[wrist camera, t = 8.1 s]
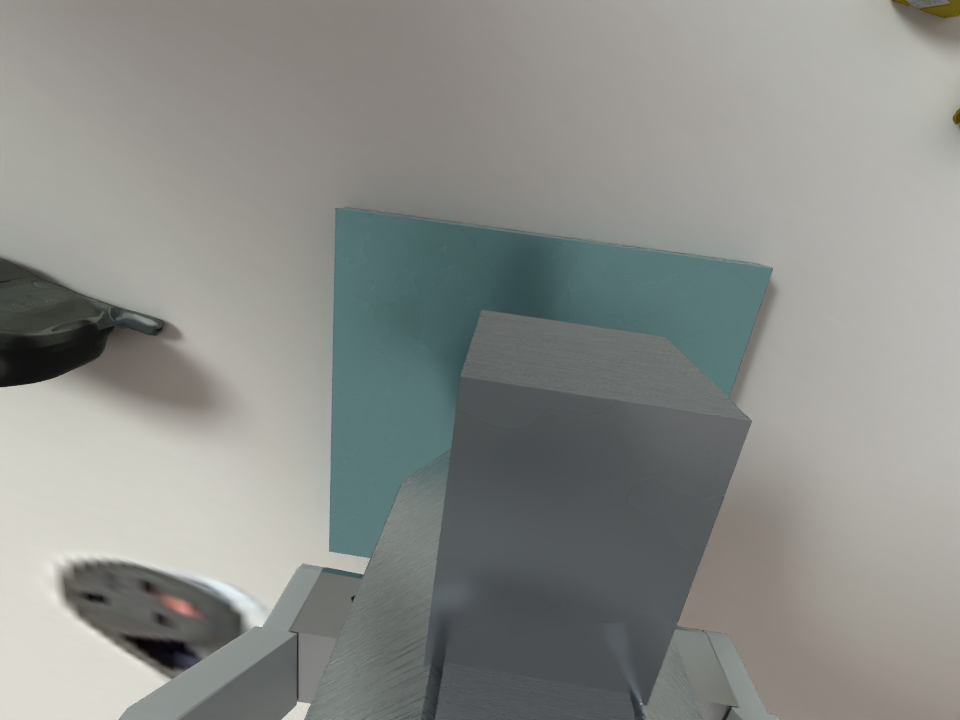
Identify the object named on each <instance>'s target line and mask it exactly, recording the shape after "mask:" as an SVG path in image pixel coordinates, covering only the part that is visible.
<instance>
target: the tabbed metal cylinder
mask: <svg viewBox="0 0 960 720" xmlns="http://www.w3.org/2000/svg"><path fill="white" fill-rule="evenodd" d="M751 422H752V420H751V419H749V418H748V417H747V416H746V415H745V414H744V413H743V412H742V411H741V410H740V409H739V408H738V407H737V406H736V405H735V404H734V403H733V402H732V401H731V400H730V399H729V398H728V397H727V396H726V395H725V394H724V393H723V392H722V391H721V390H720V389H719V388H718V387H716V386H715V385H714V384H713V383H712V382H711V381H710V380H709V379H708V378H707V377H706V376H705V375H704V374H703V373H702V372H701V371H700V370H699V369H698V368H697V367H696V366H695V365H694V364H693V363H692V362H691V361H690V360H689V359H688V358H687V357H686V356H685V355H683V354H682V353H681V352H680V351H679V350H678V349H677V348H676V347H675V346H674V345H673V344H672V343H671V342H670V341H669V340H668V339H667V338H666V337H663V336H656V335H649V334H643V333H636V332H629V331H622V330H616V329H609V328H602V327H595V326H589V325H582V324H575V323H568V322H562V321H555V320H548V319H542V318H535V317H528V316H521V315H515V314H508V313H501V312H494V311H488V310H482V311H481V314H480V317H479V320H478V323H477V326H476V329H475V332H474V335H473V338H472V341H471V345H470V348H469V351H468V354H467V357H466V360H465V363H464V366H463V369H462V372H461V375H460V382H459V390H458V398H457V405H456V413H455V421H454V429H453V437H452V445H451V449H449V450H448V451H446V452H445V453H443V454H441V455H440V456H438V457H437V458H435V459H434V460H432V461H431V462H429V463H428V464H426V465H425V466H423V467H421V468H420V469H418V470H417V471H415V472H414V473H412V474H411V475H409V476H408V477H406V478H405V479H404V480H403V482H402V484H401V485H400V487H399V489H398V492H397V494H396V497H395V499H394V502H393V504H392V507H391V509H390V511H389V514H388V516H387V519H386V521H385V524H384V526H383V529H382V531H381V533H380V536H379V538H378V541H377V543H376V546H375V548H374V551H373V553H372V555H371V558H370V560H369V563H368V565H367V568H366V570H365V573H364V575H363V577H362V580H361V582H360V585H359V587H358V590H357V592H356V595H355V597H354V599H353V602H352V604H351V607H350V609H349V612H348V614H347V617H346V619H345V621H344V624H343V626H342V629H341V631H340V634H339V636H338V639H337V641H336V643H335V646H334V648H333V651H332V653H331V656H330V658H329V661H328V663H327V665H326V668H325V670H324V673H323V675H322V678H321V680H320V683H319V685H318V687H317V690H316V692H315V695H314V697H313V700H312V702H311V705H310V707H309V709H308V712H307V714H306V717H305V719H304V720H703V718H702V715H701V712H700V709H699V706H698V704H697V701H696V698H695V695H694V692H693V689H692V686H691V684H690V681H689V678H688V675H687V672H686V669H685V667H684V664H683V661H682V658H681V655H680V652H679V649H678V647H677V644H676V641H675V638H674V635H673V634H674V631H675V628H676V626H677V623H678V620H679V618H680V615H681V612H682V609H683V607H684V604H685V601H686V599H687V596H688V593H689V590H690V588H691V585H692V582H693V580H694V577H695V574H696V571H697V569H698V566H699V563H700V561H701V558H702V555H703V552H704V550H705V547H706V544H707V542H708V539H709V536H710V533H711V531H712V528H713V525H714V523H715V520H716V517H717V514H718V512H719V509H720V506H721V504H722V501H723V498H724V495H725V493H726V490H727V487H728V485H729V482H730V479H731V477H732V474H733V471H734V468H735V466H736V463H737V460H738V458H739V455H740V452H741V449H742V447H743V444H744V441H745V439H746V436H747V433H748V430H749V428H750V425H751Z"/></svg>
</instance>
